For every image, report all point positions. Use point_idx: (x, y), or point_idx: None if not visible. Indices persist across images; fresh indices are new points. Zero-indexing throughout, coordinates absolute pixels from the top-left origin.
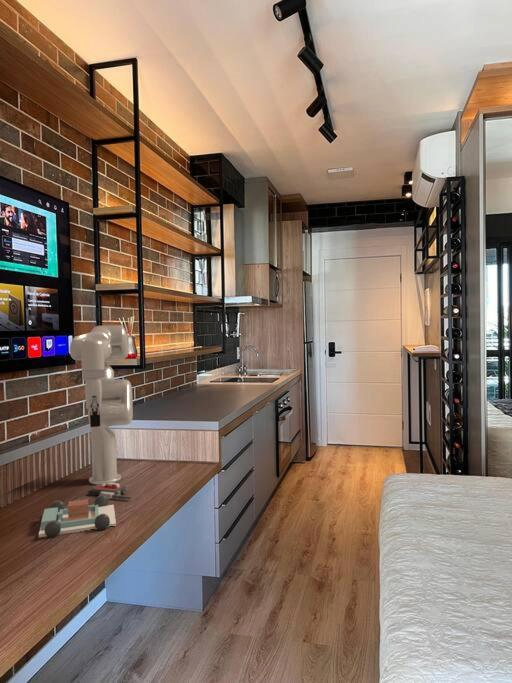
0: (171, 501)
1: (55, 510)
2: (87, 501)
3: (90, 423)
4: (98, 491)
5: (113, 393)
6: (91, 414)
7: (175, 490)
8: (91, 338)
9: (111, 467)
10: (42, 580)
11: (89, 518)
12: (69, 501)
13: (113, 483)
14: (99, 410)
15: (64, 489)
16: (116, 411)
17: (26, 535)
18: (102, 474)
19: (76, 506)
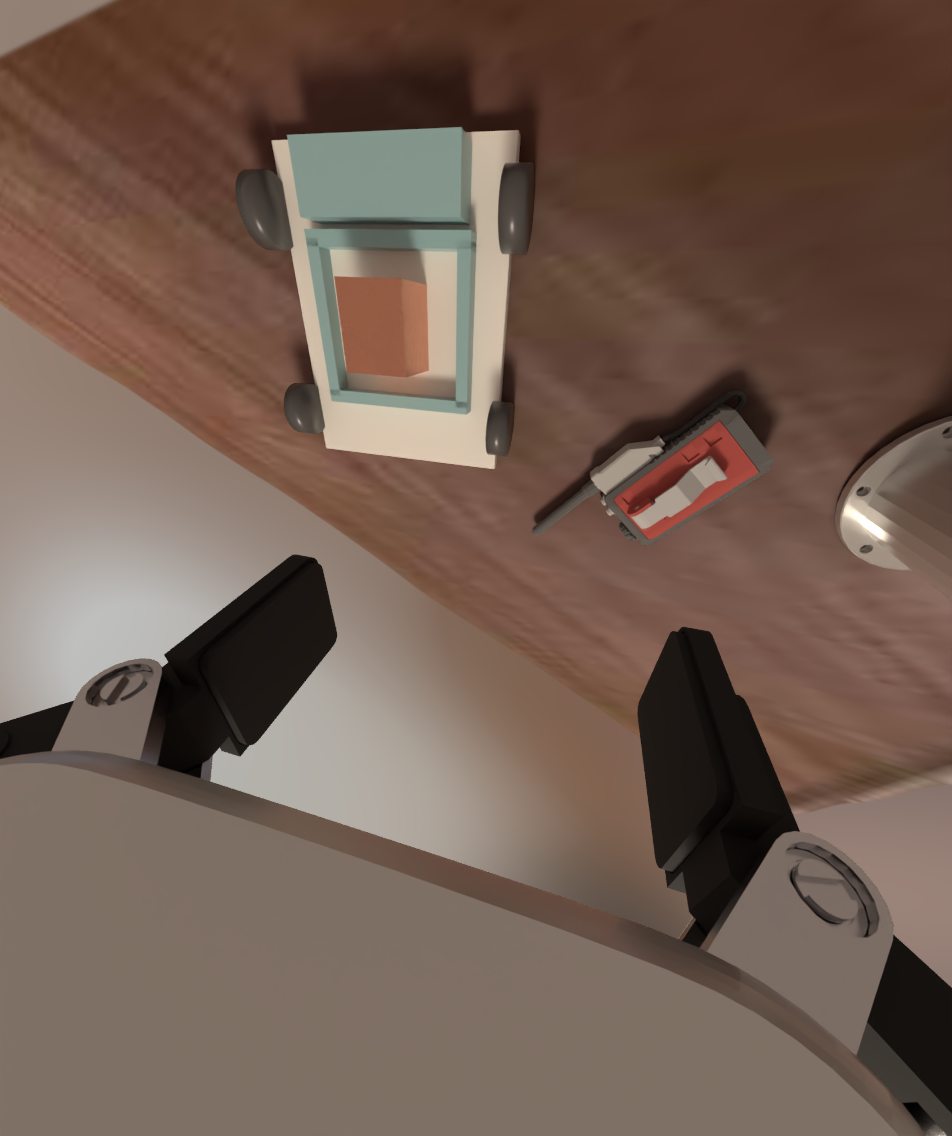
0: (472, 613)
1: (417, 205)
2: (376, 371)
3: (266, 576)
4: (682, 437)
5: None
6: (113, 677)
7: (561, 651)
8: None
9: (905, 552)
10: (23, 211)
11: (332, 368)
12: (399, 283)
13: (661, 510)
14: (681, 891)
15: None
16: None
17: (310, 64)
18: (906, 492)
19: (342, 319)
